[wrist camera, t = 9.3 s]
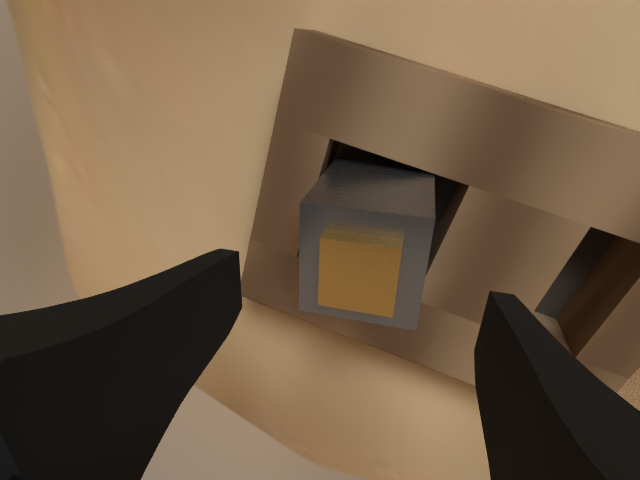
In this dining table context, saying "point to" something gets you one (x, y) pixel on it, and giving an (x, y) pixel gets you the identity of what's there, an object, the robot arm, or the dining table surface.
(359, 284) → the square bit
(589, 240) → the socket board
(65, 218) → the dining table surface
